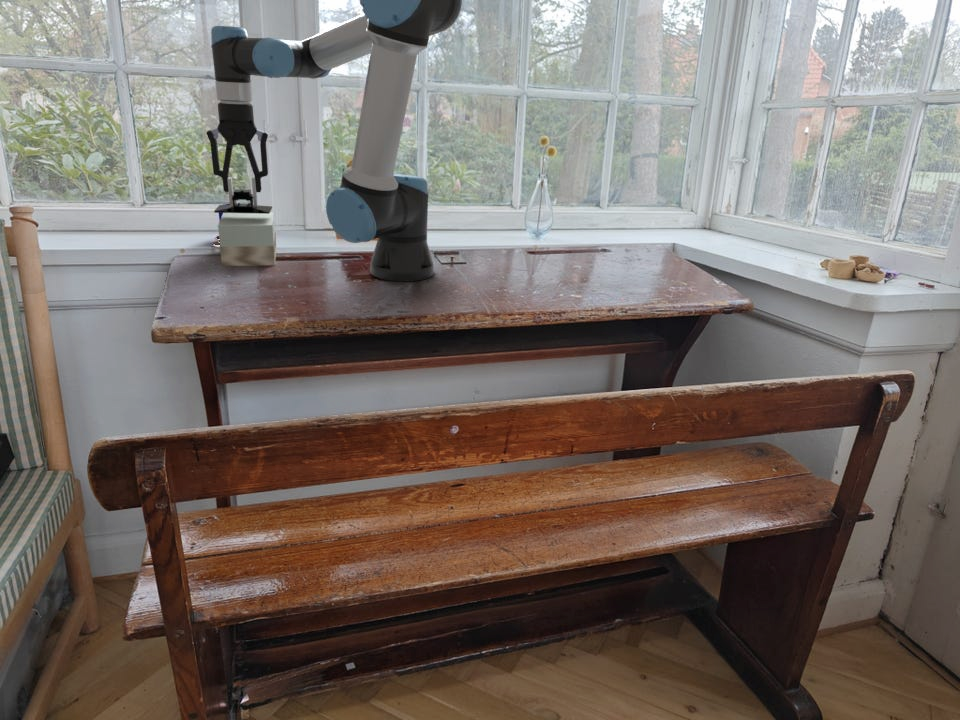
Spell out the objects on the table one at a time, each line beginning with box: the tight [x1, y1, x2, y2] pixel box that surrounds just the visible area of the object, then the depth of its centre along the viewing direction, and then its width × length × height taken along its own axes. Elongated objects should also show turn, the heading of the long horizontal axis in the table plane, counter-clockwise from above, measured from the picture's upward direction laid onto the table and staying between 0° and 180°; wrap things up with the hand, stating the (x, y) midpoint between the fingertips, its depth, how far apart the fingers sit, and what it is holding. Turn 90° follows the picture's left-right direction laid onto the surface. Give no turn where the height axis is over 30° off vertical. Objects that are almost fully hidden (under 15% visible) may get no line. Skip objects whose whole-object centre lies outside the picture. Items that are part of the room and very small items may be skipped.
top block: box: [217, 211, 276, 248], centre depth 161 cm, size 12×15×5 cm
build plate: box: [213, 189, 273, 214], centre depth 157 cm, size 12×7×5 cm, turn 100°
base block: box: [219, 232, 278, 267], centre depth 163 cm, size 12×15×5 cm
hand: (244, 205), depth 159 cm, fingers closed on build plate, 5 cm apart
